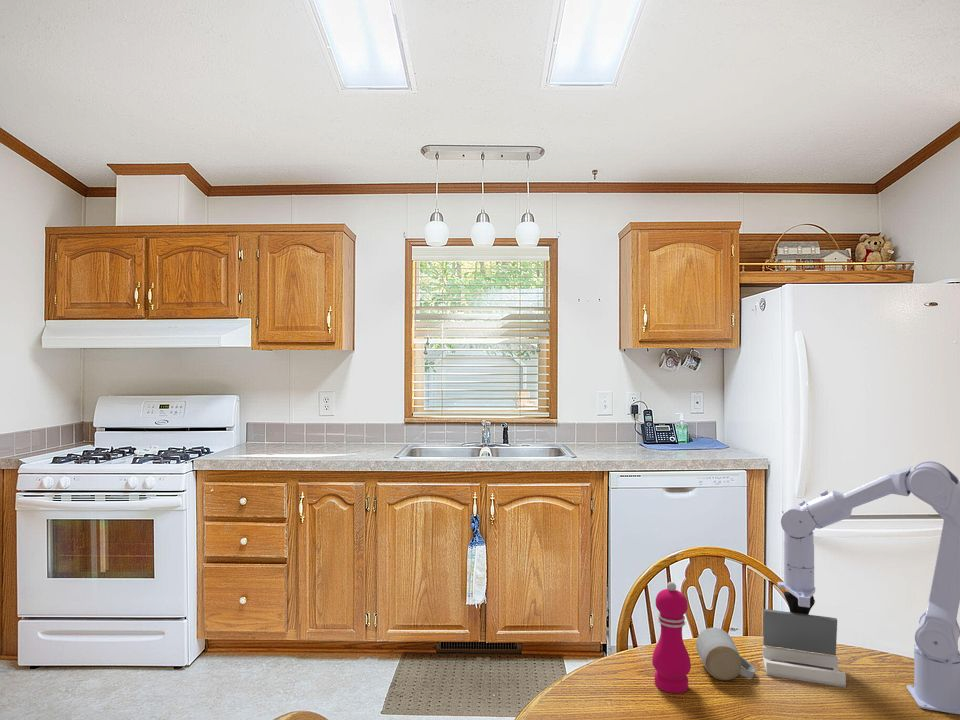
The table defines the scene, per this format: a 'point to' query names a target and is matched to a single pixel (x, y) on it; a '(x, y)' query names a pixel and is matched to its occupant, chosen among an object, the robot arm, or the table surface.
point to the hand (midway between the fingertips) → (798, 629)
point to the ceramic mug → (721, 655)
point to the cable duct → (803, 666)
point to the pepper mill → (671, 642)
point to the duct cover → (800, 632)
